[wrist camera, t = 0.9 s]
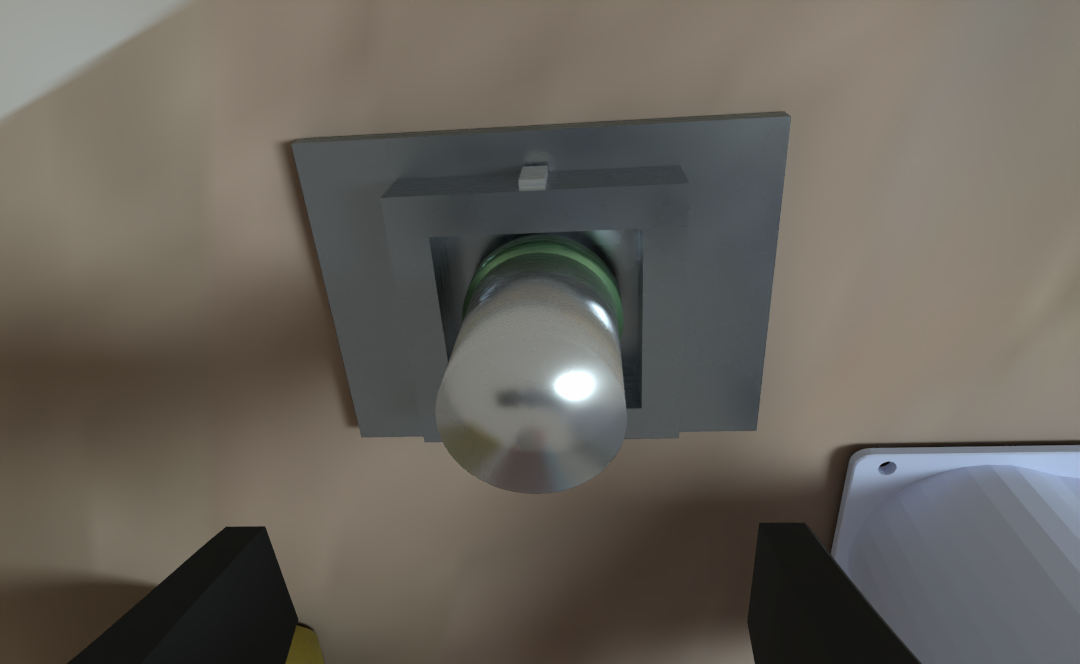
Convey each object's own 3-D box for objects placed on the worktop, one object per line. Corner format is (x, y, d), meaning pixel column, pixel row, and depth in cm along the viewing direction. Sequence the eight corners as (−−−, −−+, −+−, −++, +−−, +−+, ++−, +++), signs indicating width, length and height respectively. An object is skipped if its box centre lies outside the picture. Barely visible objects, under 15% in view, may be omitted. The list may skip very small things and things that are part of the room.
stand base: (784, 111, 16) (811, 130, 14) (751, 418, 20) (769, 465, 18) (300, 138, 17) (263, 159, 15) (366, 425, 21) (345, 471, 19)
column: (620, 224, 17) (635, 325, 12) (621, 363, 19) (634, 498, 14) (460, 231, 17) (412, 333, 12) (478, 366, 19) (442, 500, 14)
